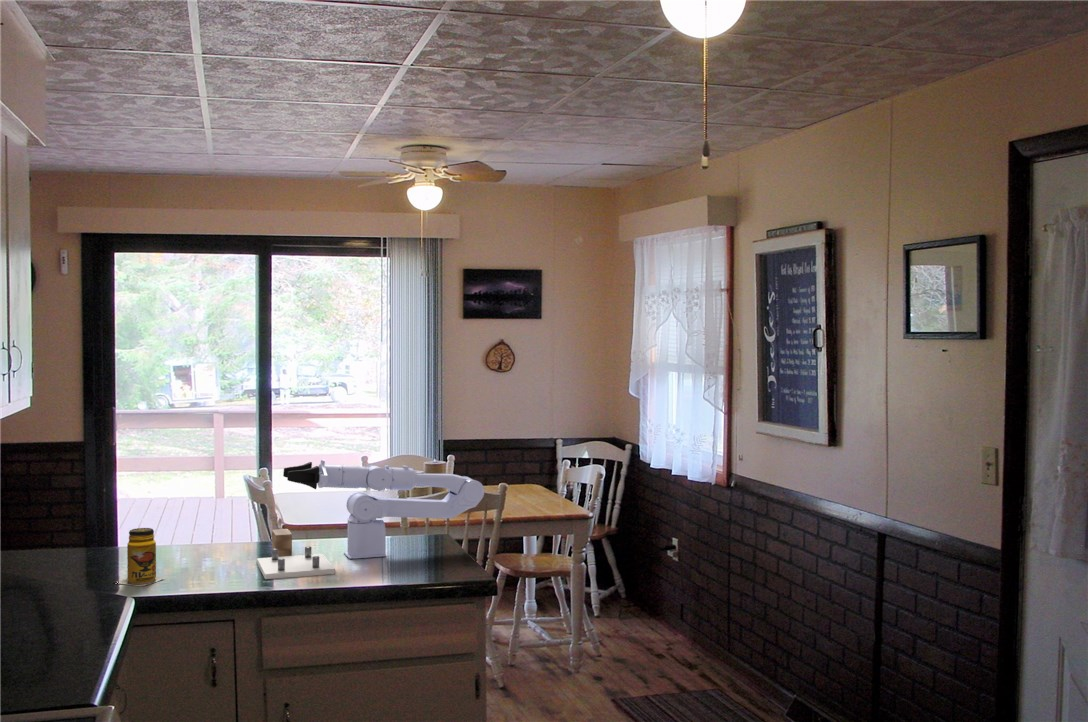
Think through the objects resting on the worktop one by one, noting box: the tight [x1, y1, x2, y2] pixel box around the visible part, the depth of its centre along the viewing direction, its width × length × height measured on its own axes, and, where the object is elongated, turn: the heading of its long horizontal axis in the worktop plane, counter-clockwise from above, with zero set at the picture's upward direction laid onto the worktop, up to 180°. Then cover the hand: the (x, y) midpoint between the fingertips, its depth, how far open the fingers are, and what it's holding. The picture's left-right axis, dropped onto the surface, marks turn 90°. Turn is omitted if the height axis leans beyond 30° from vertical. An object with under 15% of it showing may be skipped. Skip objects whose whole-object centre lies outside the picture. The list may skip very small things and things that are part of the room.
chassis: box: [256, 546, 336, 580], centre depth 245 cm, size 16×18×4 cm
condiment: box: [116, 527, 165, 587], centre depth 231 cm, size 7×8×12 cm
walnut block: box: [271, 528, 293, 557], centre depth 261 cm, size 4×8×6 cm, turn 22°
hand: (285, 474), depth 253 cm, fingers open, 7 cm apart
